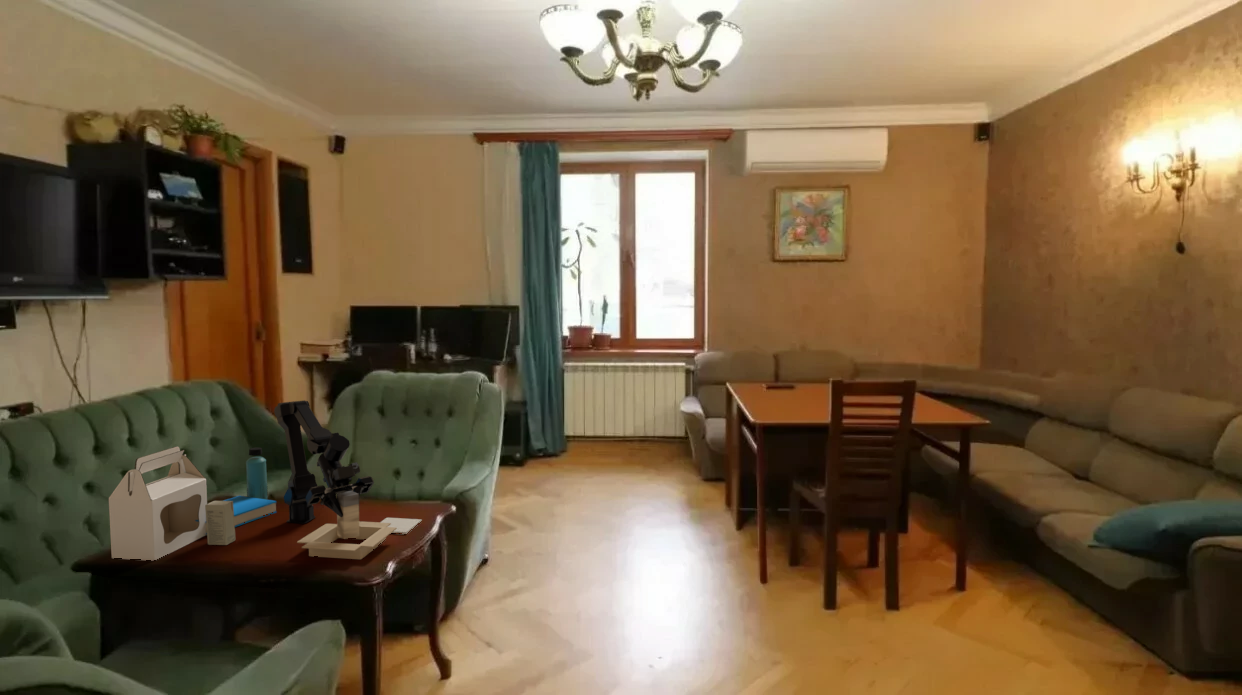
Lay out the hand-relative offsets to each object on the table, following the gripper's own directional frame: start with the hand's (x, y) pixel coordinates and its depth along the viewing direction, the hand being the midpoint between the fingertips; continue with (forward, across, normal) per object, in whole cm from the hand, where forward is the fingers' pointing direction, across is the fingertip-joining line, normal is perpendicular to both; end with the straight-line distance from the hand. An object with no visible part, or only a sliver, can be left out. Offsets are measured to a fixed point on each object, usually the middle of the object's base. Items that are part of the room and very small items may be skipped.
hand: (350, 514), depth 206 cm
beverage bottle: (-36, -4, +52) cm, 63 cm away
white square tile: (+2, +19, +13) cm, 23 cm away
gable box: (-21, -38, +36) cm, 57 cm away
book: (-29, -17, +44) cm, 55 cm away
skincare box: (-15, -25, +30) cm, 42 cm away
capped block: (+4, 0, +6) cm, 7 cm away
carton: (+6, 0, +8) cm, 10 cm away
